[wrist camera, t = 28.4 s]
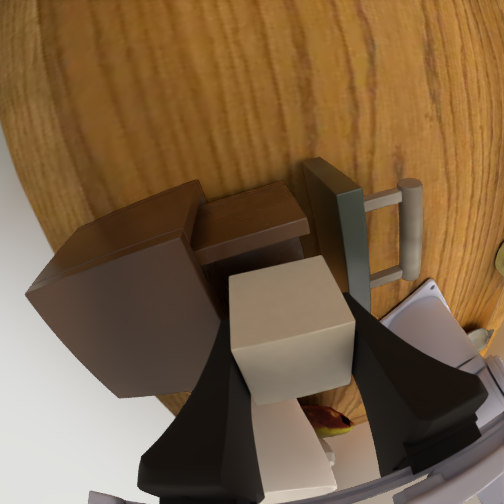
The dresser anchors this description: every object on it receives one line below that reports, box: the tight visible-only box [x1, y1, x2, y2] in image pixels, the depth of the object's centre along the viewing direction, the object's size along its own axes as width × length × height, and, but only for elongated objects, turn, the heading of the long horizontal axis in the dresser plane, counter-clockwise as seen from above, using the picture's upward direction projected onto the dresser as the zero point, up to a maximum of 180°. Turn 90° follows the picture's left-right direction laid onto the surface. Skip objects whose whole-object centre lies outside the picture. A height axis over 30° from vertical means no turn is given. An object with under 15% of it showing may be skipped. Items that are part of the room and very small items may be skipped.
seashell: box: [466, 328, 494, 352], centre depth 29 cm, size 8×3×8 cm
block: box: [229, 255, 355, 406], centre depth 11 cm, size 4×4×4 cm
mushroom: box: [300, 404, 354, 494], centre depth 25 cm, size 12×12×15 cm
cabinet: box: [25, 180, 226, 398], centre depth 16 cm, size 10×10×8 cm
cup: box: [251, 395, 337, 504], centre depth 21 cm, size 10×10×14 cm
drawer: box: [189, 157, 423, 320], centre depth 15 cm, size 13×8×6 cm, turn 106°
